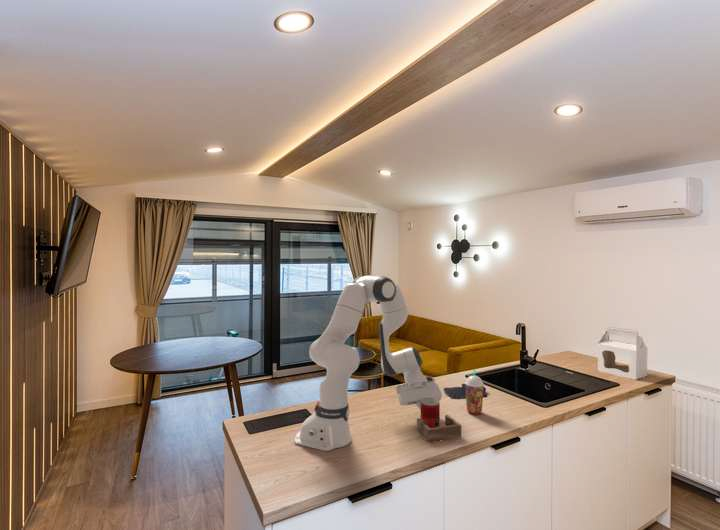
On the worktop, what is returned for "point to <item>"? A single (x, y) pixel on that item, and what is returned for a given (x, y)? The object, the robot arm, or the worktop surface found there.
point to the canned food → (430, 412)
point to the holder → (440, 430)
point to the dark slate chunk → (459, 392)
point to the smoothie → (474, 394)
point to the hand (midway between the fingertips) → (425, 412)
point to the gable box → (636, 353)
